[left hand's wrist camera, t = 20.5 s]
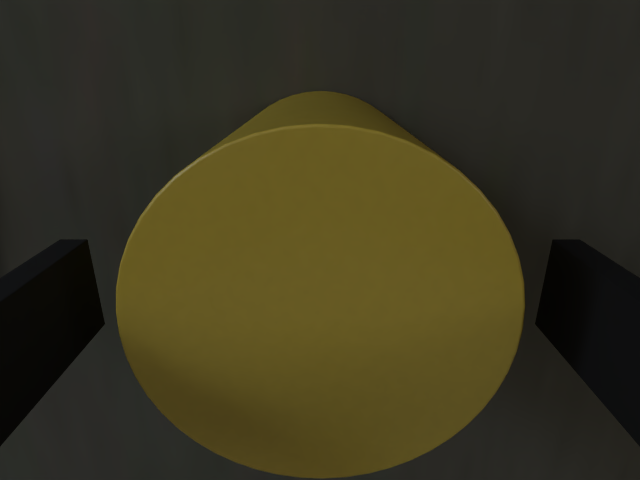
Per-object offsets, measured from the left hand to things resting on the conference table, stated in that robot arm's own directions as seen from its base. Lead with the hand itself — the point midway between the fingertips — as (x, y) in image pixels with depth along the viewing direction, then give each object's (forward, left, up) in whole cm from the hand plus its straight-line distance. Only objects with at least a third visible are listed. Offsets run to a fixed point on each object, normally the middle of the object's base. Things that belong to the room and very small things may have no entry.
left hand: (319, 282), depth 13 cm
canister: (0, 0, -9) cm, 9 cm away
